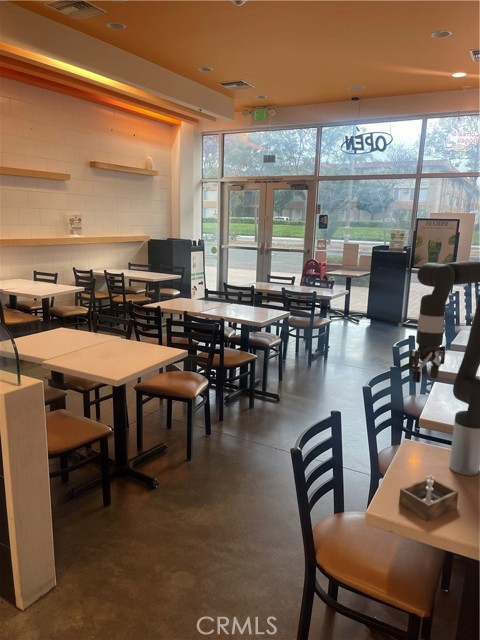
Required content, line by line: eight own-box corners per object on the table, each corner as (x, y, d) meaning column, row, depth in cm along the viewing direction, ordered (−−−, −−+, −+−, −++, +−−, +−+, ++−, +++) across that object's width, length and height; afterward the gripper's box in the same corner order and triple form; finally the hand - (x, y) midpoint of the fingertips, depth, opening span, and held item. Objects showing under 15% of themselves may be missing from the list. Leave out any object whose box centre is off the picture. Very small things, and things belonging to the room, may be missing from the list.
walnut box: (428, 491, 147) (429, 476, 146) (456, 507, 139) (458, 492, 138) (398, 503, 140) (400, 488, 139) (427, 521, 132) (429, 505, 131)
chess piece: (438, 511, 137) (441, 480, 135) (420, 508, 138) (423, 478, 136) (434, 501, 142) (437, 471, 140) (417, 499, 143) (420, 470, 141)
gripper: (434, 324, 147) (429, 373, 150) (404, 329, 140) (400, 380, 143) (455, 329, 141) (450, 379, 144) (426, 334, 134) (420, 387, 137)
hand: (425, 379), depth 144 cm, fingers open, 8 cm apart
